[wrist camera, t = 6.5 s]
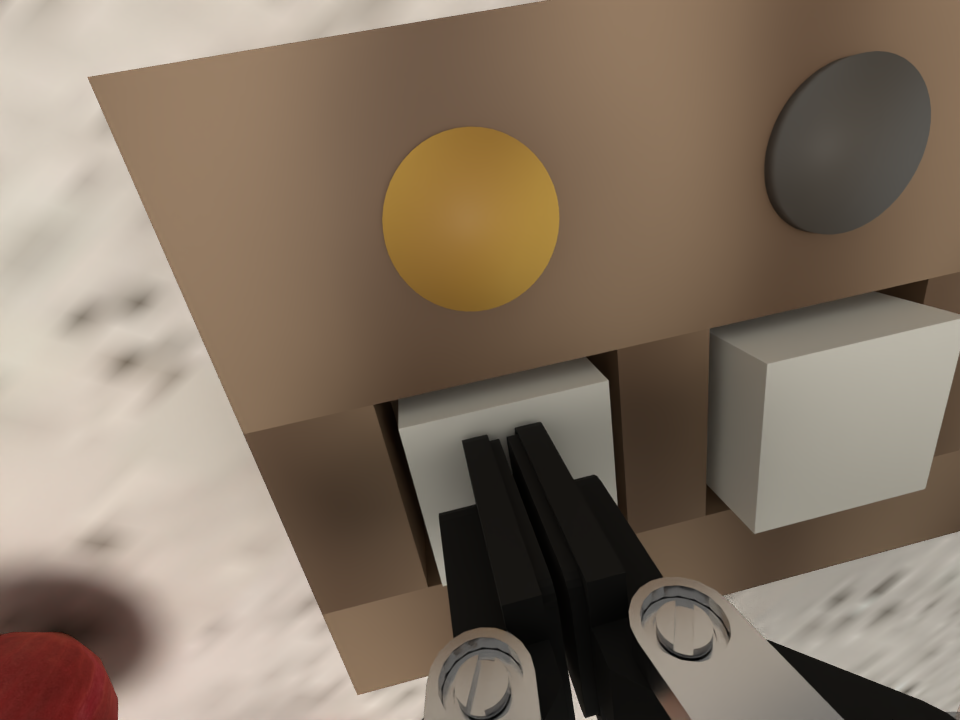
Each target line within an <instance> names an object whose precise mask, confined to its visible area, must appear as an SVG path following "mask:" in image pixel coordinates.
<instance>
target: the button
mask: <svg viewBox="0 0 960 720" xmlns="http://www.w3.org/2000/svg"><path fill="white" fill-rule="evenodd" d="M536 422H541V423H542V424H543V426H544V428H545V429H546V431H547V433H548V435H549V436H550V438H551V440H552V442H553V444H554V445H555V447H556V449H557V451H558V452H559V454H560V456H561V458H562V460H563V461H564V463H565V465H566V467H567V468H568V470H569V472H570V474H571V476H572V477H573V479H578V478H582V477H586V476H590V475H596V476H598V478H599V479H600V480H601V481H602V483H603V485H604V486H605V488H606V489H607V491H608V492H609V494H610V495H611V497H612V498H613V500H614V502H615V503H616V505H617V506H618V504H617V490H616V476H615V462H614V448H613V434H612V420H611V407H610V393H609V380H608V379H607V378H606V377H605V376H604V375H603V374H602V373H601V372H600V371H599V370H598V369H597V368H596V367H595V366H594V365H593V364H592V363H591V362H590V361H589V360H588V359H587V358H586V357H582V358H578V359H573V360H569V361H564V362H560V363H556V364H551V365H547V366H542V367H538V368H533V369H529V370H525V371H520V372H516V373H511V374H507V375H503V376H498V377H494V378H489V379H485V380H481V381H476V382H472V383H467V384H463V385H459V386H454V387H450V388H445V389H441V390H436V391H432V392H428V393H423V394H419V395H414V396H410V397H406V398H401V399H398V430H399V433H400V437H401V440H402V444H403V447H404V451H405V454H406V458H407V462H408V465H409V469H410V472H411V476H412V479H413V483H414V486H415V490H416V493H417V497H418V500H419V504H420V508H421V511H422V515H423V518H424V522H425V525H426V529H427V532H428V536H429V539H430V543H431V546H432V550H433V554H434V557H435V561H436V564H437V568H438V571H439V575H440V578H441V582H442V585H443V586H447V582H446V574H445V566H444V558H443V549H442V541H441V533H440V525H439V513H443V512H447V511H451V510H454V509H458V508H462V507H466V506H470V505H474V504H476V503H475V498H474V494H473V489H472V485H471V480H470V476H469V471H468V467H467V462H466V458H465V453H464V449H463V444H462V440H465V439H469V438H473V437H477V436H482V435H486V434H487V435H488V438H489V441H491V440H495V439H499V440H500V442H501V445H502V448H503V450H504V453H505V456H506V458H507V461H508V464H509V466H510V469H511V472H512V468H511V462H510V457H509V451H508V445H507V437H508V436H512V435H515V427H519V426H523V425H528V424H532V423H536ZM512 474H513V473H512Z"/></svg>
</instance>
